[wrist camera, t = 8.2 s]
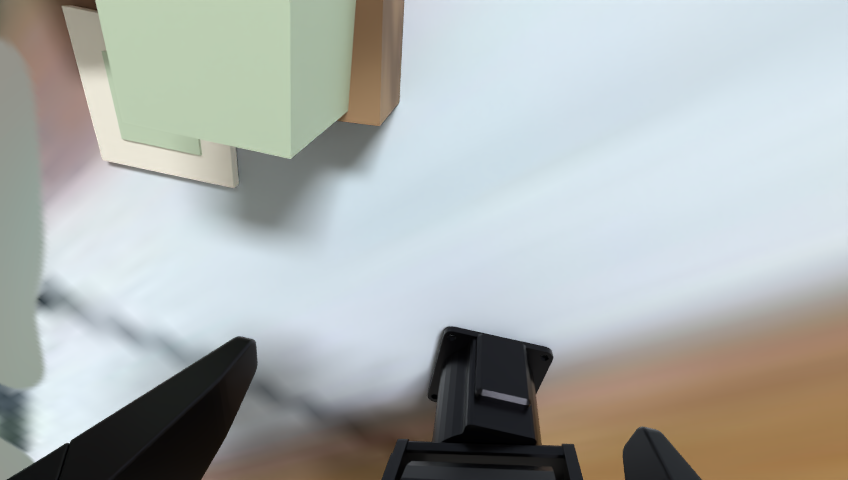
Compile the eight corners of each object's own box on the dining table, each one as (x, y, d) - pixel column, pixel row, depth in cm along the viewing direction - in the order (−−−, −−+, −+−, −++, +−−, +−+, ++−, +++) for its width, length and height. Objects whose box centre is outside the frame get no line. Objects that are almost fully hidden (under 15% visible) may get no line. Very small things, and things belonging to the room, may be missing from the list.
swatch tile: (239, 184, 21) (232, 189, 21) (110, 156, 21) (100, 160, 21) (227, 37, 18) (218, 38, 17) (71, 5, 18) (58, 5, 17)
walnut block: (400, 101, 18) (379, 125, 15) (270, 86, 19) (222, 106, 15) (408, -65, 15) (385, -82, 12) (252, -79, 16) (187, -100, 12)
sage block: (348, 111, 15) (290, 159, 10) (227, 84, 15) (122, 122, 11) (359, -38, 12) (290, -54, 8) (214, -68, 12) (73, -99, 8)
